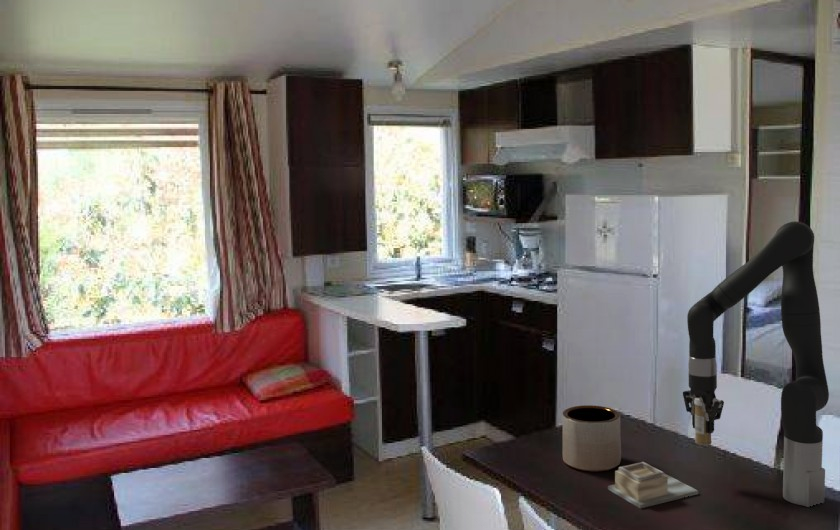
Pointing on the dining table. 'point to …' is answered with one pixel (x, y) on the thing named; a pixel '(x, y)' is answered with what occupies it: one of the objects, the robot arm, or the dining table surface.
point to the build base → (672, 491)
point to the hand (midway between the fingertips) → (703, 430)
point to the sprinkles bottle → (701, 425)
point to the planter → (591, 438)
